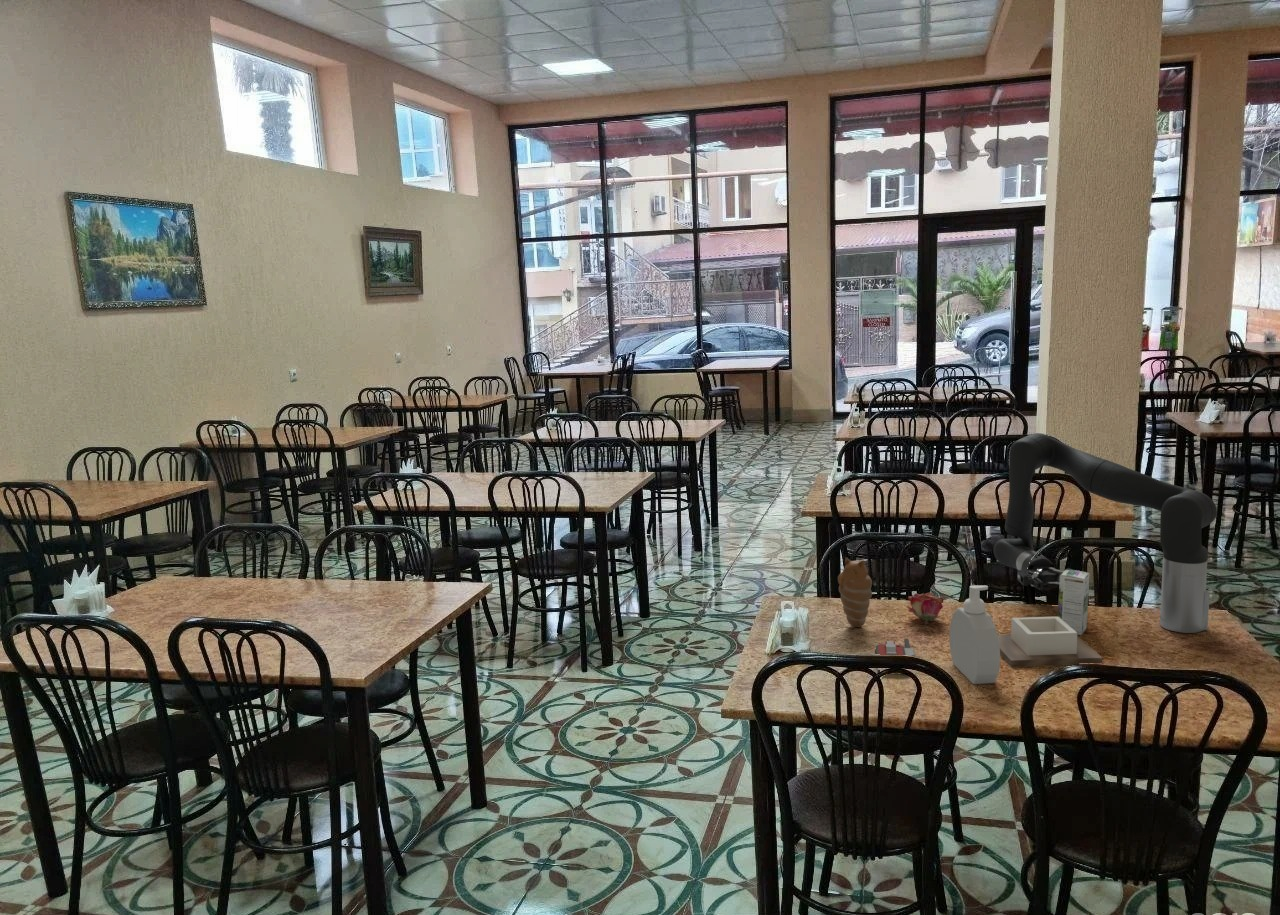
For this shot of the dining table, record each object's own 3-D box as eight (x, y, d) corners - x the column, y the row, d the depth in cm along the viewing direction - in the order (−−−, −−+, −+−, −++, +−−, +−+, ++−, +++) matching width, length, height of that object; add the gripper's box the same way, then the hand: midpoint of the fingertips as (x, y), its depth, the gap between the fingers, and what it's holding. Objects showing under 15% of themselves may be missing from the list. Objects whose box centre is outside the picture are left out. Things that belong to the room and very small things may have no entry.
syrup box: (1061, 624, 233) (1063, 568, 230) (1087, 628, 229) (1089, 571, 227) (1056, 632, 228) (1058, 574, 226) (1083, 636, 225) (1085, 578, 222)
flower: (949, 622, 233) (949, 592, 236) (913, 617, 233) (913, 586, 236) (935, 632, 242) (935, 602, 245) (900, 627, 242) (901, 597, 245)
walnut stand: (1072, 638, 224) (1072, 632, 224) (1102, 664, 208) (1102, 657, 208) (987, 640, 225) (987, 634, 225) (1010, 666, 209) (1011, 660, 209)
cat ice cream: (833, 628, 238) (832, 559, 235) (848, 619, 244) (847, 552, 241) (864, 635, 232) (864, 565, 229) (879, 625, 238) (879, 557, 235)
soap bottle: (1001, 687, 199) (1003, 597, 196) (977, 689, 199) (978, 599, 195) (971, 658, 215) (972, 575, 211) (948, 660, 214) (949, 576, 211)
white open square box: (1057, 636, 221) (1058, 616, 221) (1076, 653, 211) (1077, 632, 210) (1011, 638, 222) (1011, 617, 221) (1027, 655, 211) (1028, 634, 210)
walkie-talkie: (918, 678, 206) (910, 645, 226) (918, 659, 206) (910, 627, 225) (877, 677, 208) (873, 644, 228) (877, 658, 208) (873, 626, 227)
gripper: (1008, 554, 252) (1030, 572, 236) (1062, 553, 251) (1088, 570, 235) (1007, 581, 253) (1029, 601, 237) (1061, 579, 252) (1087, 599, 236)
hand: (1059, 585), depth 236 cm, fingers open, 8 cm apart
